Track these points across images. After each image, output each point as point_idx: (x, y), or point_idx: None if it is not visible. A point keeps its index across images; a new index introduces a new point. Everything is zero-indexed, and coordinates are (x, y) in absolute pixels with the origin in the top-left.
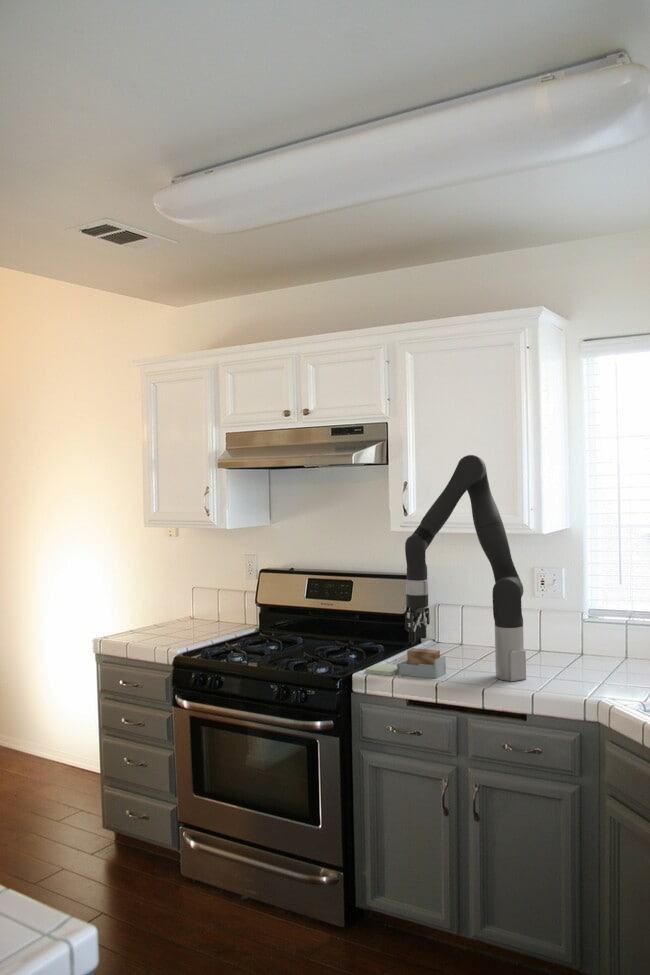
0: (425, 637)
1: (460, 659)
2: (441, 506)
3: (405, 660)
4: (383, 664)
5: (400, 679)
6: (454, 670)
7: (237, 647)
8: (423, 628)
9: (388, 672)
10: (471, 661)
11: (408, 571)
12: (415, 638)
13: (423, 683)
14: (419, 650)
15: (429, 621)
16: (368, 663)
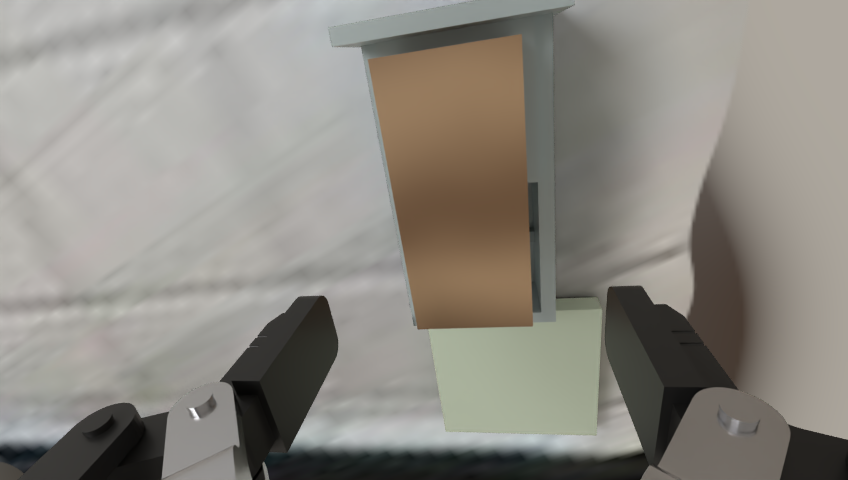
0: (318, 298)
1: (33, 173)
2: None
3: None
4: (453, 407)
5: (656, 214)
6: (251, 45)
7: None
8: (275, 398)
9: (600, 321)
10: (9, 90)
11: None
12: (625, 310)
13: (722, 9)
14: (475, 242)
15: (58, 445)
16: (406, 470)
